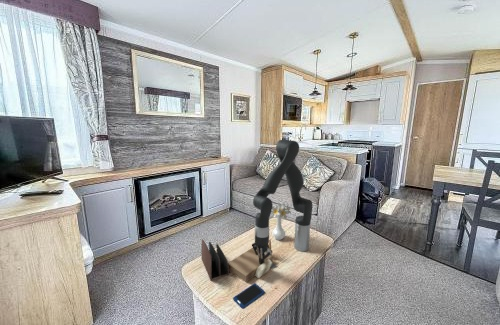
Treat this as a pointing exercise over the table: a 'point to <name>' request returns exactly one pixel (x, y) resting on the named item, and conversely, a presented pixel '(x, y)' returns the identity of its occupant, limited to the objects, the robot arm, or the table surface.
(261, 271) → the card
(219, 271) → the letter holder
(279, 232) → the flower vase
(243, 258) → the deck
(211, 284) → the table surface
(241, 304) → the cell phone
